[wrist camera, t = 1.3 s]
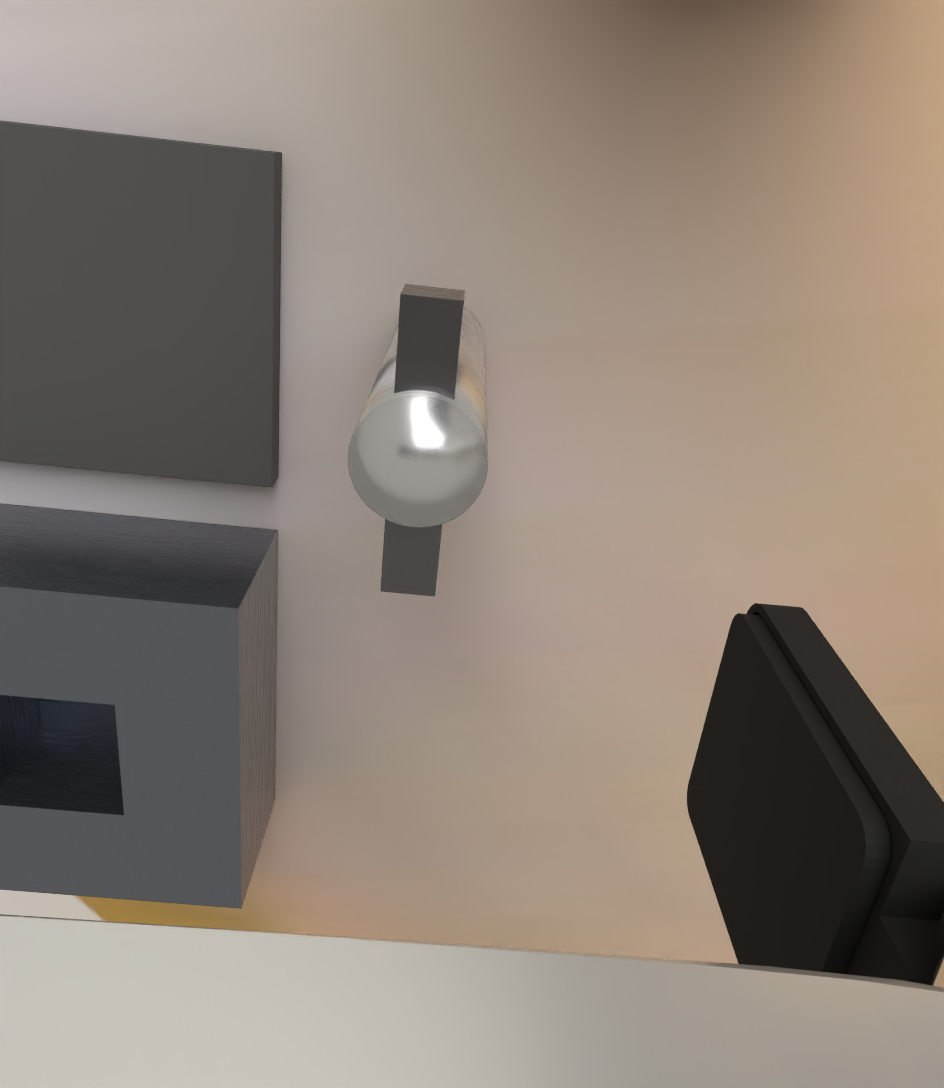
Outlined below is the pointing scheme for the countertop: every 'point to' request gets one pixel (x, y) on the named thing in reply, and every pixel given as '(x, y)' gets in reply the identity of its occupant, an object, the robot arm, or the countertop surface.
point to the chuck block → (135, 705)
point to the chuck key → (423, 434)
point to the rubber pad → (139, 304)
